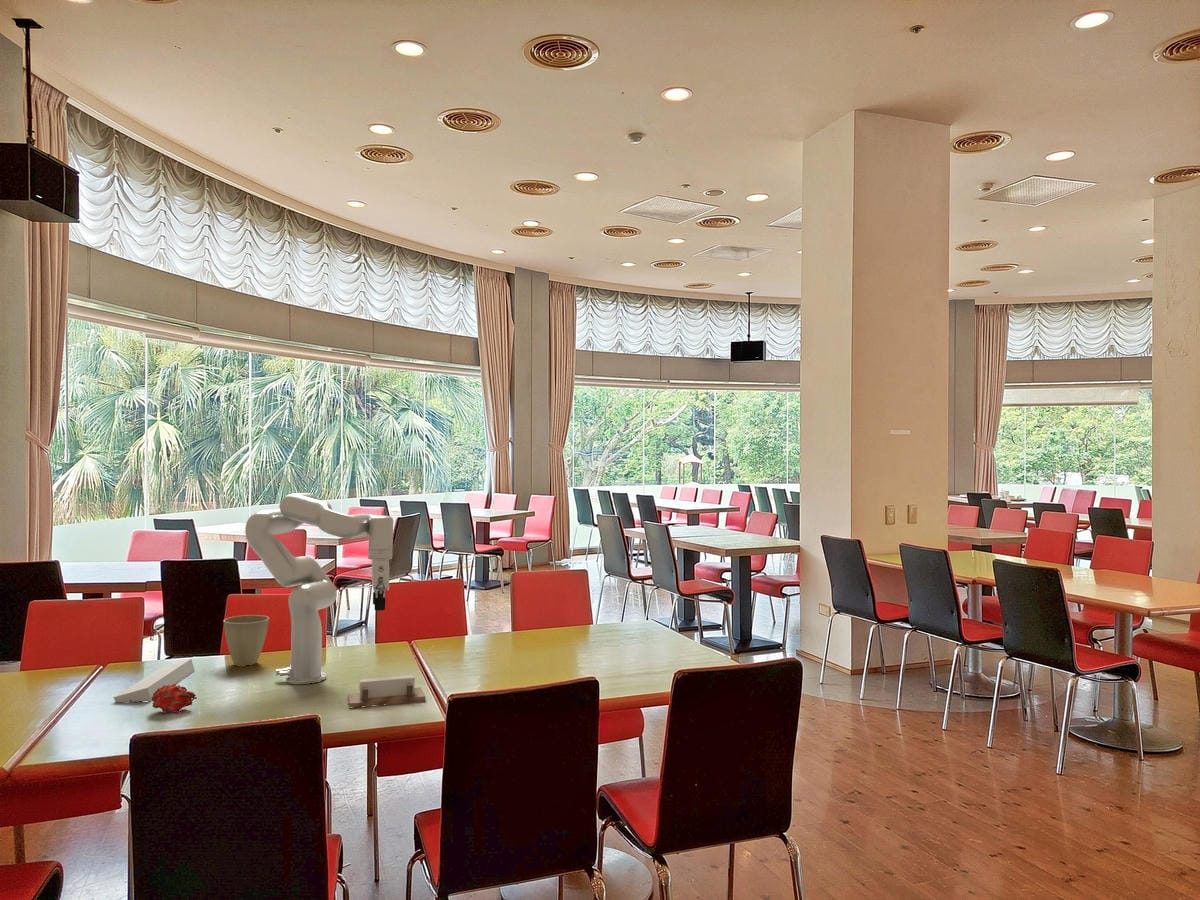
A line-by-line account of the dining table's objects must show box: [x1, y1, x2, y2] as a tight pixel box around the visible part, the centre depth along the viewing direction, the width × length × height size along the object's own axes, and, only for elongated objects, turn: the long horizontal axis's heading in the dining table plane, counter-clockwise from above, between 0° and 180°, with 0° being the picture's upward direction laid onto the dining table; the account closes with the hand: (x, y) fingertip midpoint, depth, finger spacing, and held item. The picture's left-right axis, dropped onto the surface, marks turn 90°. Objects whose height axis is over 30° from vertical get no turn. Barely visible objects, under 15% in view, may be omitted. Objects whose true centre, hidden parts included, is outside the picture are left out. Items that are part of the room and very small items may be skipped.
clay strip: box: [358, 674, 416, 699], centre depth 244 cm, size 16×3×5 cm, turn 110°
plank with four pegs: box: [347, 684, 426, 708], centre depth 244 cm, size 22×10×5 cm, turn 110°
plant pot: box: [223, 614, 270, 667], centre depth 284 cm, size 15×15×16 cm
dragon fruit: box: [151, 684, 198, 714], centre depth 232 cm, size 8×8×12 cm
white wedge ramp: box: [112, 658, 196, 703], centre depth 256 cm, size 34×5×10 cm
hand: (378, 607), depth 258 cm, fingers open, 9 cm apart
